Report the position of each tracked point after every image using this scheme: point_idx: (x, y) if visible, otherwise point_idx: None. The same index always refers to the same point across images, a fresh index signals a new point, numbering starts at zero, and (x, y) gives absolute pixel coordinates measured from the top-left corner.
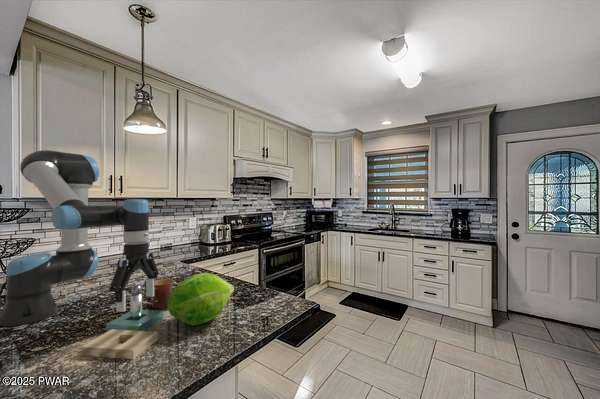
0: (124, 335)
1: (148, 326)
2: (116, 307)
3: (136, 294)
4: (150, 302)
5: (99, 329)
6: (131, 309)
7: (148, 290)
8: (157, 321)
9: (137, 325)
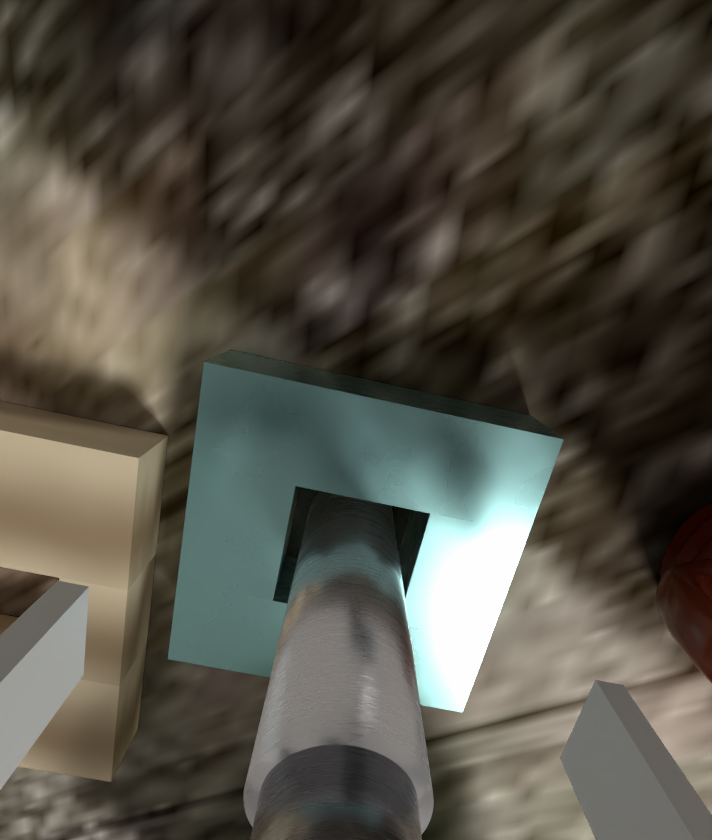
0: None
1: None
2: (14, 623)
3: None
4: (671, 568)
5: (310, 236)
6: (289, 603)
7: (635, 801)
8: None
9: (178, 642)
